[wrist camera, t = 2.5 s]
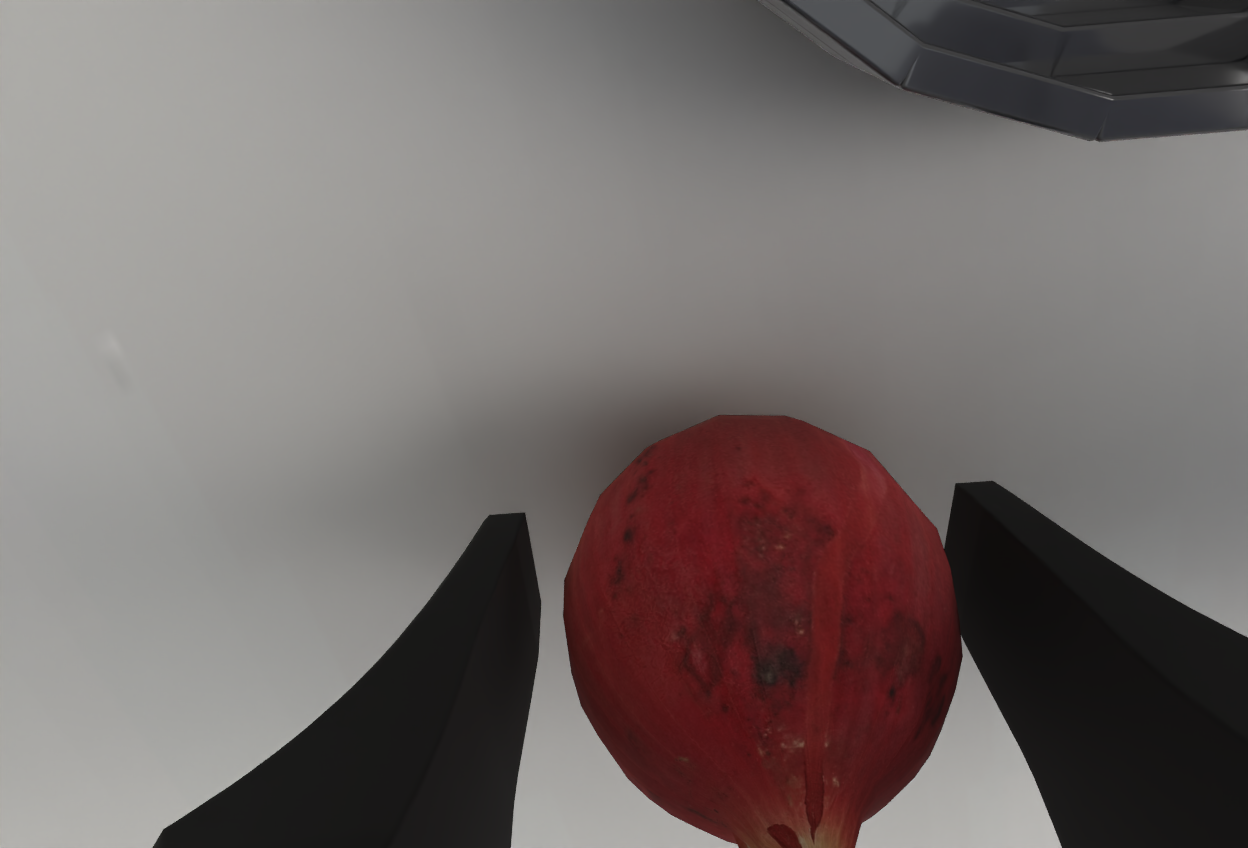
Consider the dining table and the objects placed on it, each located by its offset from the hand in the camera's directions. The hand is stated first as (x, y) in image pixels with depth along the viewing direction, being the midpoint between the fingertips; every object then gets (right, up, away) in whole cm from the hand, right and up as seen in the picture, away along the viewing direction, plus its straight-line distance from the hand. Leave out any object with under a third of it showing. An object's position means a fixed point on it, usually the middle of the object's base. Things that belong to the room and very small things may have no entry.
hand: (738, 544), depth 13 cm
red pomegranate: (0, +1, +2) cm, 2 cm away
